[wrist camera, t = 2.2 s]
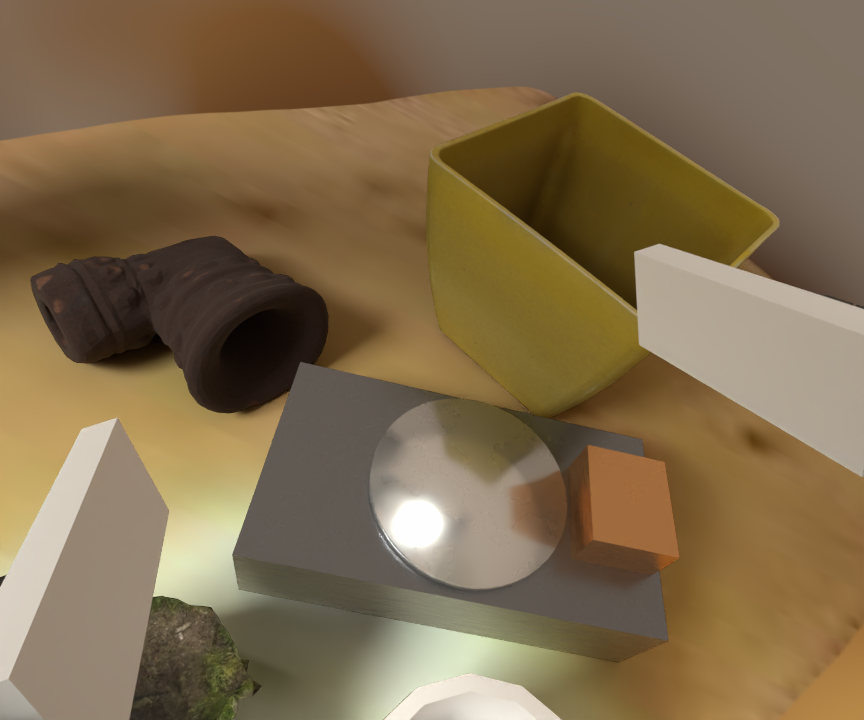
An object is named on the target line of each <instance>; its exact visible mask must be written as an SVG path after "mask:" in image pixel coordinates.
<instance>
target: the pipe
mask: <svg viewBox="0 0 864 720" xmlns="http://www.w3.org/2000/svg"><path fill="white" fill-rule="evenodd" d="M30 280H31V286H32V291H33V294H34V297H35V300H36V302H37V305H38V307H39V309H40V312H41V314H42V316H43V318H44V320H45V323H46V325H47V326H48V328H49V330H50V332H51V333H52V335H53V337H54V339H55V340H56V342H57V344H58V345H59V346H60V348H61V349H62V351H63V352H64V354H65V355H66V356H67V357H68V358H69V359H71V360H72V361H74V362H76V363H93V362H96V361H98V360H100V359H104V358H108V357H110V356H111V355H112V354H113V353H123V352H124V351H126V350H129V349H138V348H141V347H144V346H147V345H148V344H149V343H150V341H151V340H152V339H153V337H154V335H155V334H158V335H159V336H160V337H161V339H162V341H163V343H164V344H165V345H167V346H169V347H170V349H171V350H172V351H173V353H174V354H175V357H174V358H175V362H176V363H177V365H178V366H179V368H181V369H183V372H184V377H185V379H186V381H187V385H188V389H189V391H190V394H191V395H192V396H193V398H194V399H195V400H196V401H197V403H198V404H199V405H201V406H203V407H205V408H206V409H208V410H211V411H214V412H218V413H234V412H239V411H242V410H244V409H245V408H247V407H249V406H251V405H258V404H263V403H265V402H268V401H270V400H272V399H274V398H275V397H277V396H279V395H280V394H282V393H283V392H284V391H286V390H287V389H289V388H290V387H292V384H293V381H294V378H295V376H296V373H297V370H298V367H299V364H300V362H303V363H307V364H312V365H314V363H315V362H316V361H317V359H318V357H319V356H320V354H321V352H322V350H323V347H324V345H325V342H326V337H327V333H328V312H327V308H326V304H325V302H324V300H323V298H322V297H321V296H320V295H319V294H318V293H317V292H316V291H314V290H312V289H311V288H309V287H305V286H302V285H300V284H299V283H296V282H295V281H294V280H293V279H292V278H290V277H289V276H287V275H282V274H274V273H273V272H272V271H270V270H269V269H267V268H265V267H263V266H261V265H260V264H259V263H258V262H257V261H256V260H254V259H253V258H249V257H247V256H246V255H245V254H244V253H243V252H242V251H241V250H239V249H238V248H237V247H235V246H234V245H232V244H231V243H230V242H228V241H227V240H226V239H224V238H222V237H218V236H209V237H203V238H197V239H191V240H186V241H183V242H180V243H177V244H174V245H172V246H168V247H165V248H161V249H158V250H155V251H152V252H149V253H147V254H138V255H132V256H130V257H128V258H126V259H120V258H112V257H91V258H87V259H84V260H77V259H74V260H73V261H72V262H70V263H69V264H68V265H66V264H62V263H58V264H57V265H56V266H55V267H54V268H51V269H49V270H46V271H43V272H41V273H39V274H37V275H34V276H32V277H31V279H30Z"/></svg>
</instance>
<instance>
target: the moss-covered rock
mask: <svg viewBox="0 0 864 720" xmlns="http://www.w3.org/2000/svg"><path fill="white" fill-rule="evenodd" d="M248 661H249V660H240V657H239V654H238V650H237V648H236V646H235V645H234V643H233V641H232V639H231V637H230V635H229V633H228V631H227V630H226V628H225V627H224V626H223V625H222V624H221V622H220V620H219V618H218V617H217V615H216V614H215V612H214V611H213V610H212V608H211V607H206V606H191V605H188V604H186V603H184V602H182V601H180V600H178V599H175V598H169V597H164V596H158V597H153V598H152V603H151V609H150V614H149V619H148V624H147V629H146V635H145V640H144V645H143V650H142V656H141V661H140V666H139V671H138V677H137V682H136V687H135V692H134V697H133V703H132V708H131V713H130V718H129V720H231V719H233V718H234V717H235V716H236V713H237V707H238V700H240V699H243V698H246V697H250V696H253V695H254V694H255V693H256V692H257V691H259V689H260V688H261V687H262V686H261V685H260V684H258V683H257V682H255V681H254V680H252V679H251V677H250V676H249V675H248V674H247V667H248Z"/></svg>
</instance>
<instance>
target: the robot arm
mask: <svg viewBox="0 0 864 720" xmlns="http://www.w3.org/2000/svg"><path fill="white" fill-rule="evenodd" d="M634 259H635V277H636V296H637V315H638V334H639V345H640V346H642V347H643V348H645V349H647V350H649V351H650V352H652V353H654V354H655V355H657V356H659V357H660V358H662V359H664V360H665V361H667V362H669V363H670V364H672V365H674V366H675V367H677V368H679V369H681V370H682V371H684V372H686V373H687V374H689V375H691V376H692V377H694V378H696V379H697V380H699V381H701V382H702V383H704V384H706V385H707V386H709V387H711V388H713V389H714V390H716V391H718V392H719V393H721V394H723V395H724V396H726V397H728V398H729V399H731V400H733V401H734V402H736V403H738V404H739V405H741V406H743V407H745V408H746V409H748V410H750V411H751V412H753V413H755V414H756V415H758V416H760V417H761V418H763V419H765V420H766V421H768V422H770V423H771V424H773V425H775V426H777V427H778V428H780V429H782V430H783V431H785V432H787V433H788V434H790V435H792V436H793V437H795V438H797V439H798V440H800V441H802V442H803V443H805V444H807V445H809V446H810V447H812V448H814V449H815V450H817V451H819V452H820V453H822V454H824V455H825V456H827V457H829V458H830V459H832V460H834V461H835V462H837V463H839V464H841V465H842V466H844V467H846V468H847V469H849V470H851V471H852V472H854V473H856V474H857V475H859V476H861V477H863V476H864V307H863V306H859V305H856V306H853V304H852V303H850V302H846V301H843V300H840V299H837V298H834V297H831V296H827V295H819V294H815V293H812V292H809V291H806V290H802V289H799V288H796V287H793V286H790V285H787V284H783V283H780V282H778V281H774V280H771V279H768V278H765V277H762V276H759V275H756V274H753V273H749V272H746V271H743V270H740V269H737V268H734V267H731V266H728V265H724V264H721V263H718V262H715V261H712V260H709V259H706V258H703V257H699V256H696V255H693V254H690V253H687V252H684V251H681V250H678V249H674V248H671V247H668V246H665V245H662V244H657V245H654V246H651V247H648V248H645V249H642V250H639V251H635V252H634ZM168 514H169V509H168V508H167V506H166V504H165V502H164V500H163V499H162V497H161V495H160V493H159V491H158V490H157V488H156V486H155V484H154V482H153V481H152V479H151V477H150V475H149V473H148V472H147V470H146V468H145V466H144V464H143V463H142V461H141V459H140V457H139V455H138V454H137V452H136V450H135V448H134V446H133V445H132V443H131V441H130V439H129V437H128V435H127V434H126V432H125V430H124V428H123V426H122V425H121V423H120V421H119V419H118V418H115V419H112V420H108V421H105V422H102V423H99V424H96V425H93V426H90V427H87V428H83V429H82V430H81V431H80V433H79V435H78V437H77V439H76V441H75V443H74V445H73V447H72V449H71V451H70V453H69V455H68V457H67V459H66V461H65V463H64V464H63V466H62V468H61V470H60V472H59V474H58V476H57V478H56V480H55V482H54V484H53V486H52V488H51V490H50V492H49V494H48V496H47V497H46V499H45V501H44V503H43V505H42V507H41V509H40V511H39V513H38V515H37V517H36V519H35V521H34V523H33V525H32V527H31V528H30V530H29V532H28V534H27V536H26V538H25V540H24V542H23V544H22V546H21V548H20V550H19V552H18V554H17V556H16V558H15V560H14V561H13V563H12V565H11V567H10V569H9V571H8V573H7V575H5V576H2V577H0V720H129V718H130V713H131V708H132V703H133V697H134V692H135V687H136V682H137V677H138V671H139V666H140V661H141V656H142V650H143V645H144V640H145V635H146V629H147V624H148V619H149V614H150V609H151V603H152V598H153V593H154V588H155V582H156V577H157V572H158V567H159V561H160V556H161V551H162V546H163V541H164V535H165V530H166V525H167V520H168Z"/></svg>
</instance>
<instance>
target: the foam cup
mask: <svg viewBox="0 0 864 720" xmlns="http://www.w3.org/2000/svg"><path fill="white" fill-rule="evenodd" d="M383 720H561V719H560V718H559V717H558V716H557V715H556V714H554V713H553V712H552V711H551V710H550V709H548V708H547V707H546V706H545V705H544V704H542V703H541V702H540V701H539V700H538V699H537V698H535V697H534V696H533V695H532V694H531V693H529V692H528V691H527V690H526V689H525V688H523V687H522V686H519V685H515V684H511V683H507V682H503V681H499V680H495V679H491V678H487V677H483V676H479V675H475V674H471V673H467V674H464V675H460V676H457V677H453V678H450V679H446V680H443V681H439V682H436V683H432V684H429V685H425V686H422V687H418V688H416V689H415V690H414V691H413V692H412V693H410V694H409V695H408V696H407V697H406V698H405V699H404V700H403V701H402V702H401V703H400V704H399V705H398V706H397V707H396V708H395V709H394V710H392V711H391V712H390V713H389V714H388V715H387V716H386V717H385V718H384V719H383Z"/></svg>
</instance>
